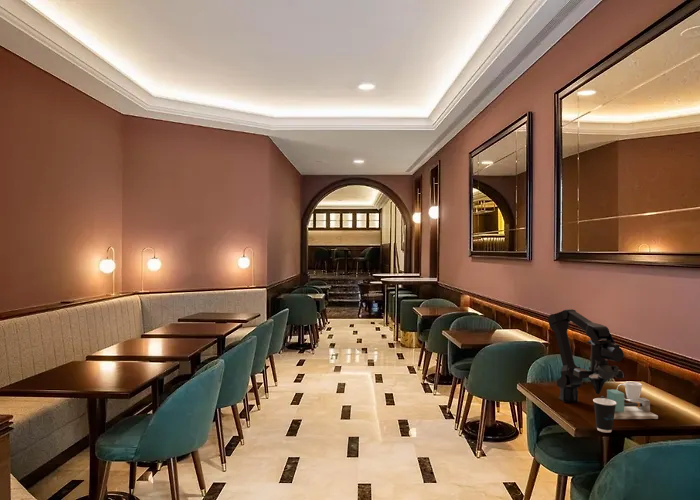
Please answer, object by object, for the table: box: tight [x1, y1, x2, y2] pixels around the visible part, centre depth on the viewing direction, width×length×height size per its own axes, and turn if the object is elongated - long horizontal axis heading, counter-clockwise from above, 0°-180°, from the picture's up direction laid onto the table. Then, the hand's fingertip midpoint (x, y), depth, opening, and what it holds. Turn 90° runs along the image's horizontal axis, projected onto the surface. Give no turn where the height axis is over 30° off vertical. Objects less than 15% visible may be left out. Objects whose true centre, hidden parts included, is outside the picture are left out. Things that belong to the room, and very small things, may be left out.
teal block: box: [606, 389, 625, 412], centre depth 208 cm, size 4×6×7 cm
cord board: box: [600, 395, 659, 420], centre depth 209 cm, size 18×14×6 cm
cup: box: [616, 380, 643, 403], centre depth 226 cm, size 7×10×8 cm
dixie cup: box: [592, 397, 617, 433], centre depth 189 cm, size 8×8×11 cm
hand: (597, 393), depth 208 cm, fingers closed
